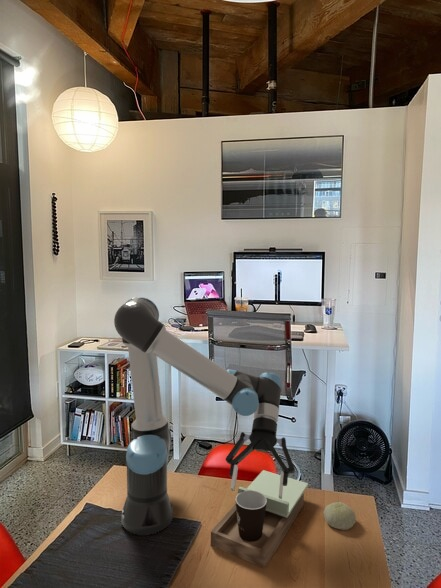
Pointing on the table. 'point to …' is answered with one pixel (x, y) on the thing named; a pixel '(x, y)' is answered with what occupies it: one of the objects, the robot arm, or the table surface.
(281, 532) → the brown wooden shallow box
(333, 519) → the sea urchin shell
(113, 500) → the table surface
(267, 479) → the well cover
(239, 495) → the coffee mug
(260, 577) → the table surface
